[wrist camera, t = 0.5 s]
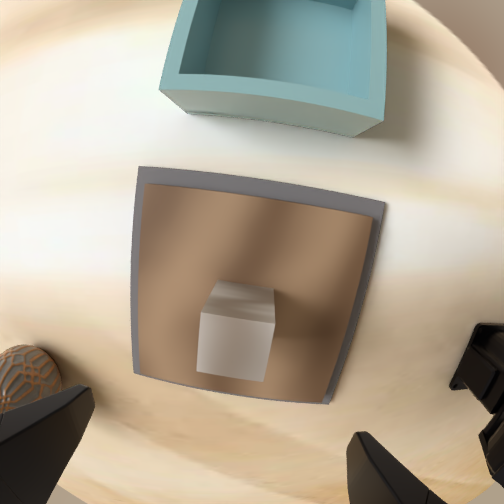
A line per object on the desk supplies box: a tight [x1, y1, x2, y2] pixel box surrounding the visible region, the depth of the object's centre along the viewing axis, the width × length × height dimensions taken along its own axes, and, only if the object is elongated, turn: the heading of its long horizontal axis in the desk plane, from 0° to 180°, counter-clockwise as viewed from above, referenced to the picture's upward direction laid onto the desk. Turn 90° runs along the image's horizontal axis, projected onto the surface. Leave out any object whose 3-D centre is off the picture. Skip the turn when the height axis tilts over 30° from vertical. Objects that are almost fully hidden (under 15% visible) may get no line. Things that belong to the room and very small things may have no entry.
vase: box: [0, 345, 62, 413], centre depth 17 cm, size 7×7×9 cm
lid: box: [138, 184, 373, 403], centre depth 15 cm, size 13×13×6 cm
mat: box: [131, 166, 385, 404], centre depth 18 cm, size 15×15×1 cm
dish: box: [159, 0, 387, 137], centre depth 12 cm, size 10×10×5 cm
